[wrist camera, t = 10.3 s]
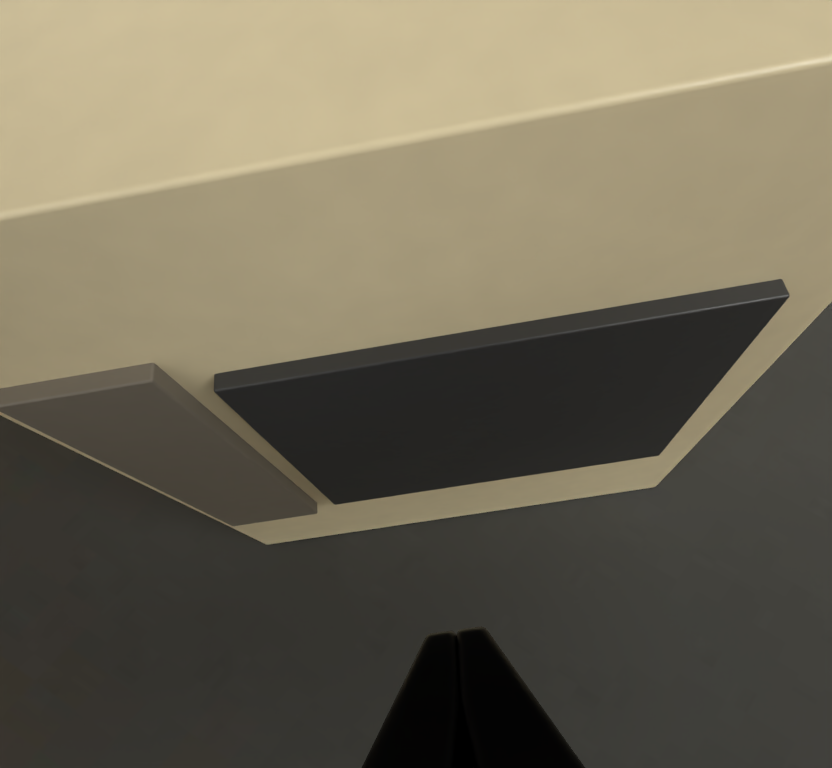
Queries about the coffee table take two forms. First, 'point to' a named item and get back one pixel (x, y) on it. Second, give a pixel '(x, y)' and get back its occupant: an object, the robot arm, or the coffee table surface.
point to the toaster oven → (403, 242)
